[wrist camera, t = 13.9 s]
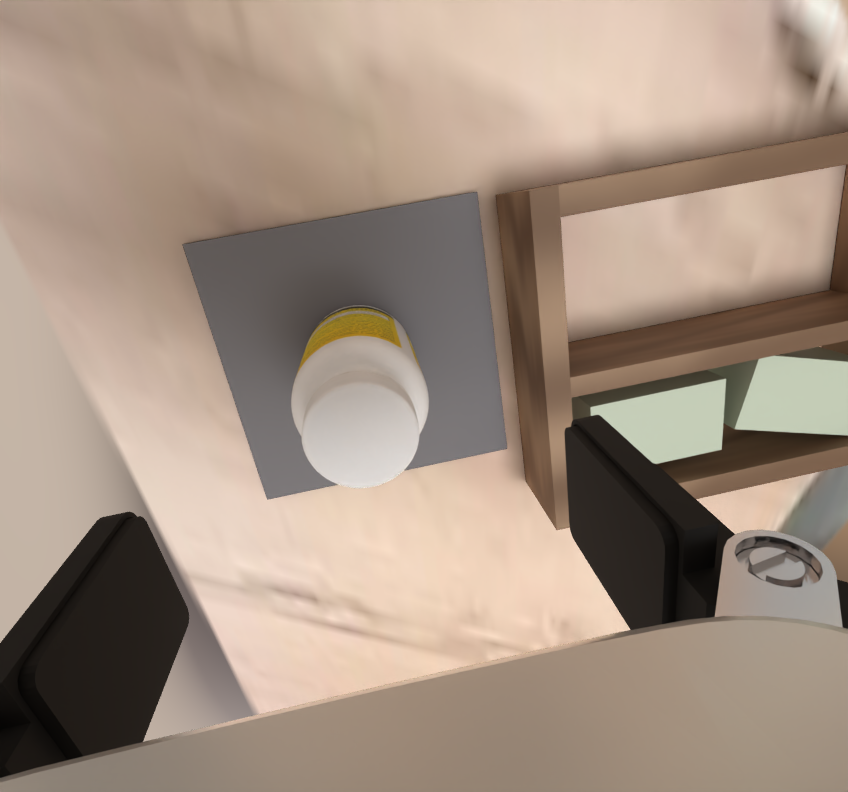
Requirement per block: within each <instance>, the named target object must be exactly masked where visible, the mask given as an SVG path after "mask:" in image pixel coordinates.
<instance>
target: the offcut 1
mask: <svg viewBox="0 0 848 792" xmlns="http://www.w3.org/2000/svg"><path fill="white" fill-rule="evenodd" d="M725 389H726V378H724V377H721V376H719V375H717V374H715V373H712V372H710V371H708V370H703V371H698V372H693V373H688V374H684V375H679V376H674V377H669V378H664V379H660V380H655V381H650V382H645V383H640V384H635V385H631V386H626V387H621V388H616V389H611V390H607V391H602V392H597V393H592V394H587V395H582V396H578V397H573V398H571V399H572V416H573V420H574V419H579V418H584V417H589V416H593V415H600V416H601V417H603V418H604V419H605V420H606V421H607V422H608V423H609V424H610V425H611V426H612V427H614V428H615V429H616V430H617V431H618V432H619V433H620V434H621V435H622V436H623V437H625V438H626V439H627V440H628V441H629V442H630V443H631V444H632V445H633V446H634V447H636V448H637V449H638V450H639V451H640V452H641V453H642V454H643V455H644V456H645V457H647V458H648V459H649V460H650V461H651V462H652V463H655V464H658V463H663V462H667V461H672V460H676V459H681V458H686V457H690V456H695V455H699V454H704V453H708V452H713V451H718V450H722V437H723V421H724V405H725Z"/></svg>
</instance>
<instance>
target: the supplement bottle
mask: <svg viewBox="0 0 848 792" xmlns="http://www.w3.org/2000/svg"><path fill="white" fill-rule="evenodd" d="M291 408H292V415H293V419H294V422H295V425H296V427H297V430H298V432H299V433H300V435H301V437H302V446H303V449H304V452H305V455H306V457H307V459H308V460H309V462H310V463H311V465H312V466H313V467H314V469H315V470H316V471H317V472H318V473H320V474H321V475H322V476H323V477H325V478H326V479H328V480H330V481H331V482H334V483H336V484H339V485H342V486H346V487H352V488H368V487H374V486H378V485H381V484H383V483H385V482H388V481H390V480H392V479H393V478H395V477H396V476H398V475H399V474H400V473H401V472H403V471H404V470H405V469H406V467H407V466H408V465H409V464H410V462H411V461H412V459H413V457H414V455H415V453H416V450H417V447H418V443H419V435H420V433H421V431H422V429H423V427H424V425H425V422H426V419H427V414H428V408H429V397H428V390H427V385H426V382H425V379H424V376H423V374H422V371H421V368H420V366H419V363H418V360H417V358H416V355H415V352H414V349H413V346H412V344H411V341H410V339H409V337H408V335H407V333H406V331H405V330H404V328H403V327H402V325H401V324H400V323H399V322H398V321H397V320H396V319H395V318H394V317H393V316H391V315H390V314H388V313H387V312H385V311H383V310H380V309H378V308H375V307H371V306H365V305H353V306H347V307H343V308H340V309H338V310H336V311H334V312H332V313H330V314H329V315H328V316H326V317H325V318H324V319H323V320H322V321H321V322H320V323H319V324H318V325H317V327H316V328H315V329H314V331H313V332H312V334H311V336H310V338H309V340H308V343H307V346H306V349H305V352H304V355H303V358H302V361H301V363H300V366H299V369H298V372H297V375H296V378H295V381H294V385H293V389H292V397H291Z"/></svg>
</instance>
